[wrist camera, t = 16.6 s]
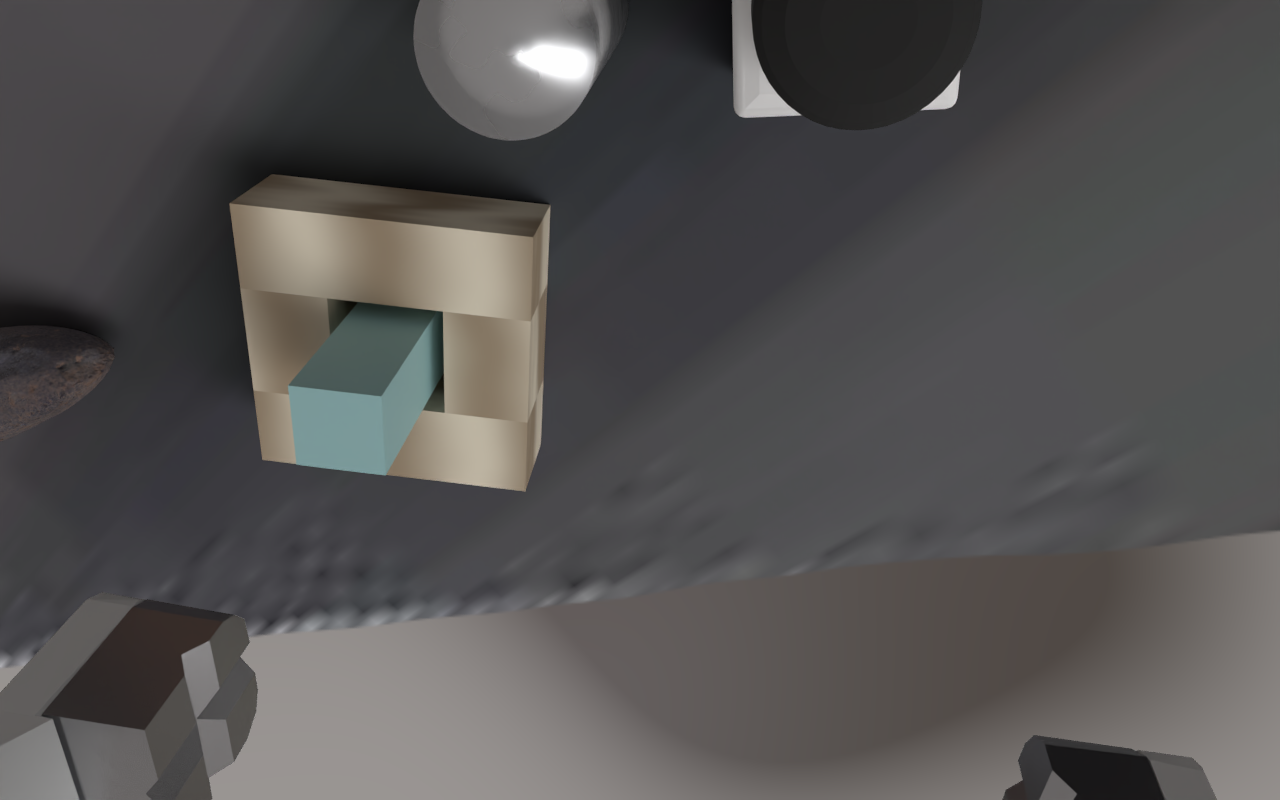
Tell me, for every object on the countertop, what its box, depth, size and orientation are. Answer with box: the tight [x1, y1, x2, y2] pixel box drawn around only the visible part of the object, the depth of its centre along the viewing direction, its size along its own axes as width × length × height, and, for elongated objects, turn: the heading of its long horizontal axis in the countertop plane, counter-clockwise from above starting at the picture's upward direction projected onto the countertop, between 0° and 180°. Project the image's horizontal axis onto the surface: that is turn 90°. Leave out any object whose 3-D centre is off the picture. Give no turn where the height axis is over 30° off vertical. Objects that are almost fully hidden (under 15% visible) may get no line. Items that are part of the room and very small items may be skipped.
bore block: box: [229, 174, 550, 491], centre depth 42 cm, size 12×12×4 cm
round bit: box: [414, 0, 629, 140], centre depth 33 cm, size 5×5×10 cm
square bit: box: [288, 302, 444, 475], centre depth 40 cm, size 3×3×10 cm
